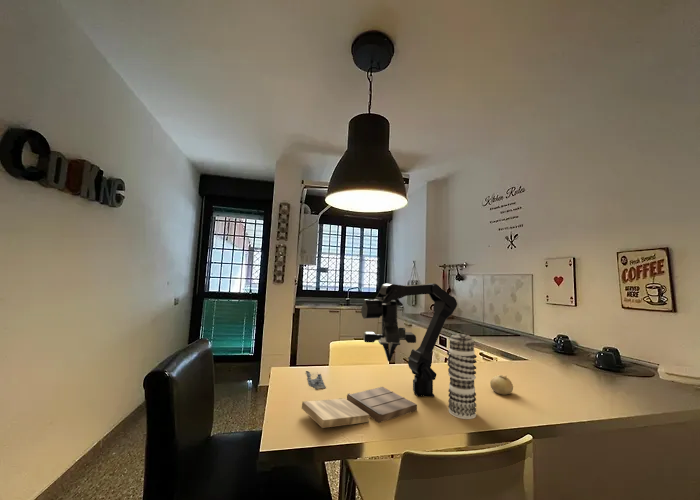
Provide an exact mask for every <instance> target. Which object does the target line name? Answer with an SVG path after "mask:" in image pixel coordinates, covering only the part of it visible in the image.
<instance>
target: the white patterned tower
mask: <svg viewBox="0 0 700 500" xmlns="http://www.w3.org/2000/svg"><path fill="white" fill-rule="evenodd" d="M448 340H449V347H448V351H446V354H447V355H448V357H446V358H447V366H448V368H447V370H448V376H449V384H448V386H449V388H448V392H449V393H448V397H449V398H448V402H447V403H448V413H449V414H450V415H451V416H453V417H455V418H458V419H462V420H473V419H475V418H476V417H477V414H476V412H477V408H476V407H477V403H476V401H477V397H476V396H477V392H476V387H475V380H476V378H477V376H476V374H477V372H476V370H477V366H476V365H475V364H476V363H477V360H476V358H477V355H476V353H475V343H474V342H475V340H474V339H473V338H472V337H471V336H470V334H467V333H466V334H465V333H453V334H452V335H451V336H450V337H449V338H448Z"/></svg>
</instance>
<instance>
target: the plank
mask: <svg viewBox="0 0 700 500" xmlns="http://www.w3.org/2000/svg"><path fill="white" fill-rule="evenodd" d="M301 410H302V411H304V413H306V414H307V415H308V416H309V417H310V418H311V419H312V420H313V421H315V423H317V425H319V426H320V427H321V429H324V428H325V429H326V428H330V427H331V428H333V427H340V426H341V427H342V426H349V425H355V424H356V425H357V424H362V423H369V421H370V416H369V414H367V413H366V412H364V411H363V410H362V409H360V408H359V407H357V406H356V405H354V404H353V403H351V402H350V401H348V400H347V398H331V399H321V400H320V399H319V400H305V401H302V404H301Z"/></svg>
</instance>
